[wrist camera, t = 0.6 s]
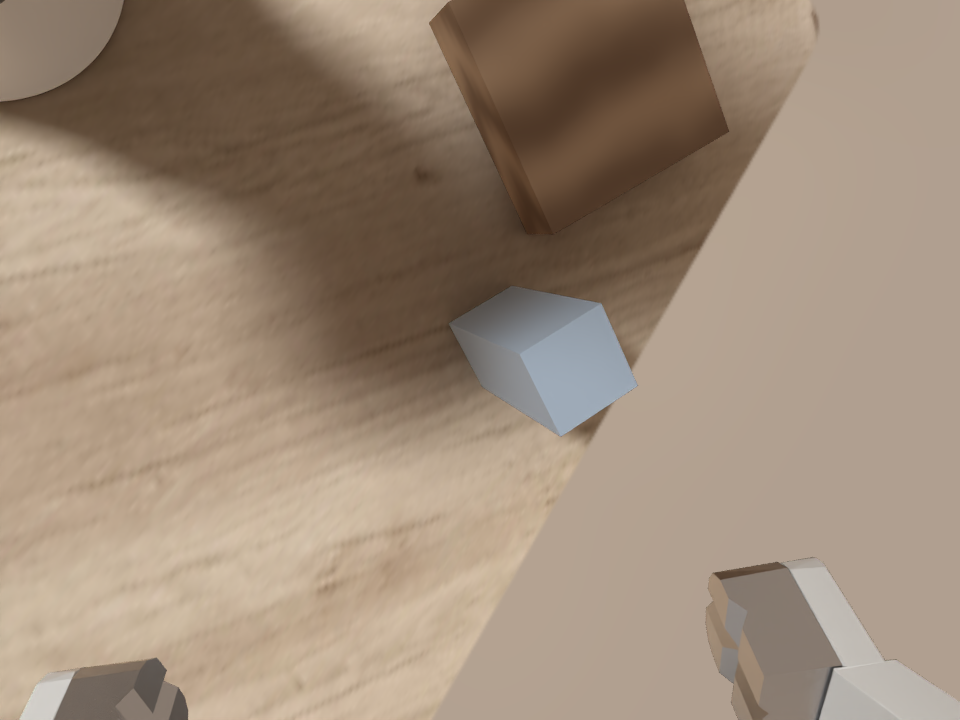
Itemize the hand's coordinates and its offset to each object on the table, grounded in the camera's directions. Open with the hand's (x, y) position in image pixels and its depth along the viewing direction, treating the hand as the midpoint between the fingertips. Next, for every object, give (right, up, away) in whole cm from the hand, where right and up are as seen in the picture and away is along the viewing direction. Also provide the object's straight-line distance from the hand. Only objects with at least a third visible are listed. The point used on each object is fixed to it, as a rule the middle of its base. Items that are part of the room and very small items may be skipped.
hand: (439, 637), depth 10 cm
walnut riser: (+6, +22, +34) cm, 41 cm away
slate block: (+2, +6, +36) cm, 36 cm away
